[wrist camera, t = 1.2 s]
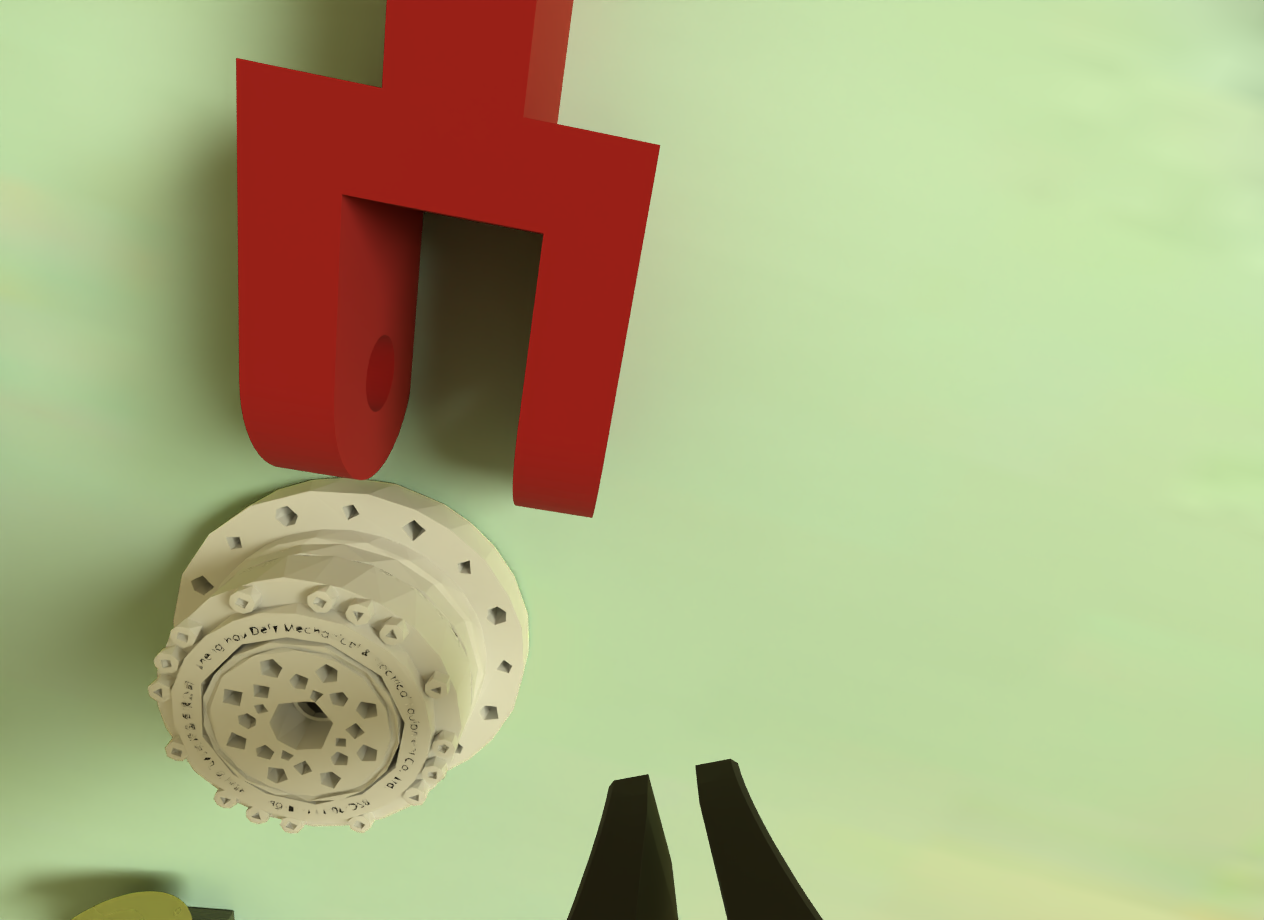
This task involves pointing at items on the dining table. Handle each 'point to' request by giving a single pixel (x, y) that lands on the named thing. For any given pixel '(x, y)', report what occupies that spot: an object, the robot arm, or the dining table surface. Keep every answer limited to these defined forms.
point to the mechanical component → (339, 653)
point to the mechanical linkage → (392, 231)
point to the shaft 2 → (150, 909)
